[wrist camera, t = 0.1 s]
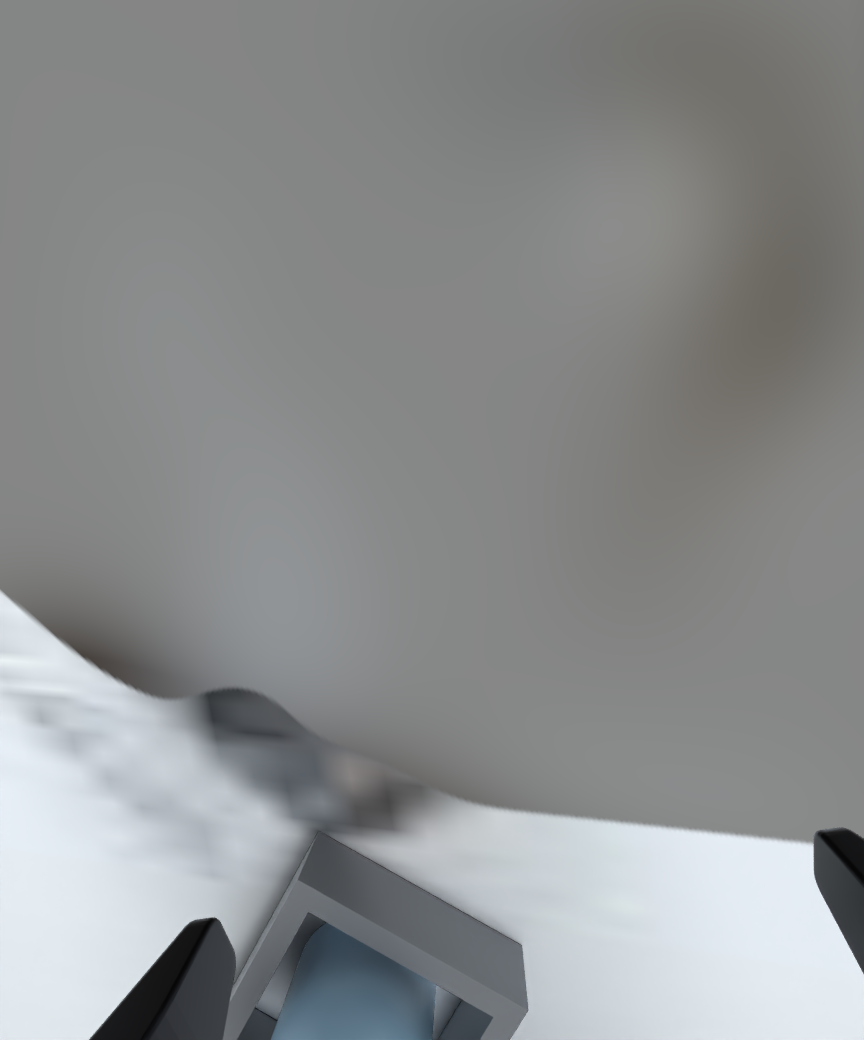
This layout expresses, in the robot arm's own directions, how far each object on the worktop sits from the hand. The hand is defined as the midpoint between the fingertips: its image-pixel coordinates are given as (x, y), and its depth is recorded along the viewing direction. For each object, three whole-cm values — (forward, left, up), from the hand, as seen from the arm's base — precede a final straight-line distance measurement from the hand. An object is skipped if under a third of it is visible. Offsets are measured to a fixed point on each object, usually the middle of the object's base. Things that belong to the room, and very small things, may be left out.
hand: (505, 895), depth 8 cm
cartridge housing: (-17, -3, -15) cm, 23 cm away
